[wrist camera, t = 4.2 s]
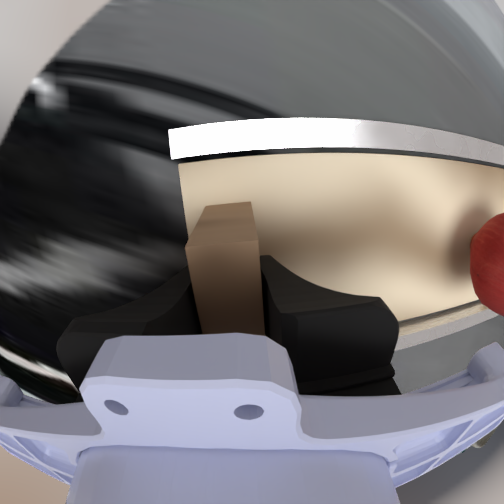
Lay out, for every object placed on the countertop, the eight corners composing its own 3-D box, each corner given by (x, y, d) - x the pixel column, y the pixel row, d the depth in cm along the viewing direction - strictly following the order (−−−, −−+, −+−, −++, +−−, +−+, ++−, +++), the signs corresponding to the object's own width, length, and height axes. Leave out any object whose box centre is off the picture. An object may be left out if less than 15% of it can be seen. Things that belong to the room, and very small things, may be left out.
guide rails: (521, 292, 16) (530, 299, 15) (214, 358, 16) (212, 376, 15) (544, 162, 11) (556, 166, 10) (177, 131, 11) (168, 130, 10)
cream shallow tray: (488, 291, 16) (528, 327, 11) (210, 340, 15) (202, 416, 10) (510, 170, 12) (564, 188, 7) (180, 163, 12) (138, 179, 7)
